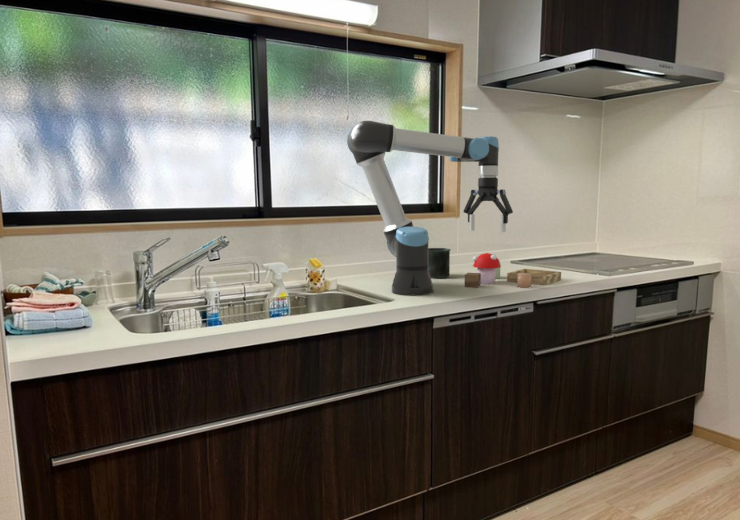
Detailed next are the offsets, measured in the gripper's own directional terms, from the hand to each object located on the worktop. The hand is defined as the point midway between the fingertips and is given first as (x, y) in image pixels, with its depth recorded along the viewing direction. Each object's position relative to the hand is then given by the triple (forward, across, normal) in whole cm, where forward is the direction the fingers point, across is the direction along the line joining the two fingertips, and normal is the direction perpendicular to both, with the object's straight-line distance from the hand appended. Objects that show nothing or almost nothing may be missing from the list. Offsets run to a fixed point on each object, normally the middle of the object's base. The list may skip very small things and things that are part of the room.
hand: (487, 231), depth 215 cm
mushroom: (+21, 0, 0) cm, 21 cm away
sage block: (+21, +4, -12) cm, 24 cm away
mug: (+21, +25, -1) cm, 32 cm away
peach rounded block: (+21, -16, 0) cm, 26 cm away
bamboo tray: (+20, -13, -16) cm, 29 cm away
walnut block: (+21, 0, +11) cm, 23 cm away
